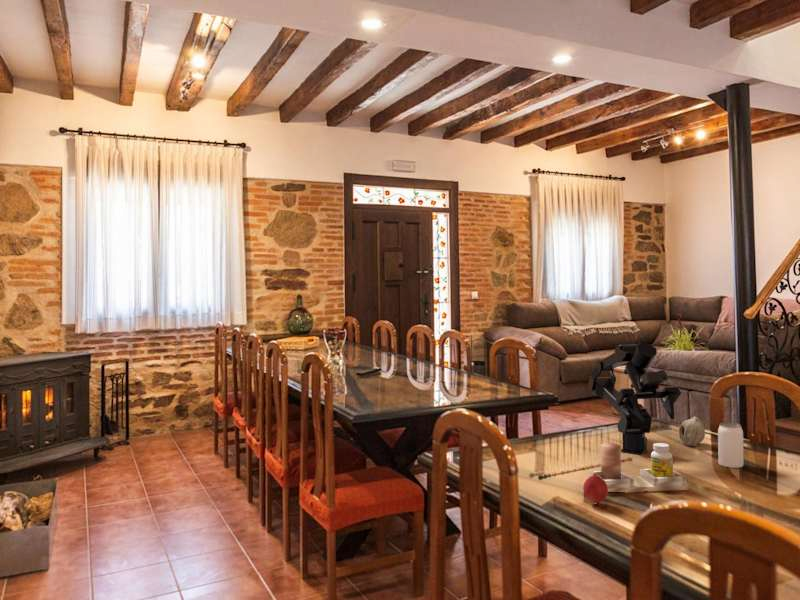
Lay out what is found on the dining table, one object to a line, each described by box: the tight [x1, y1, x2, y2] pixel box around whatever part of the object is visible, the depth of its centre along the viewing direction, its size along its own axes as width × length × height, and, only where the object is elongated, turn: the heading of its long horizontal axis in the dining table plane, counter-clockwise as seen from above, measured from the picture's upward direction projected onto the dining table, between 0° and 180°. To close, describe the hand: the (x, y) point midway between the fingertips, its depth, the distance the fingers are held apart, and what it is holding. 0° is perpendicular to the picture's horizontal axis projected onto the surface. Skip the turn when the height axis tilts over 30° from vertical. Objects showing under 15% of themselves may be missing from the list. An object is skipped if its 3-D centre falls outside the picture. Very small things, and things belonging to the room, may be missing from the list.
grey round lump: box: [678, 416, 706, 447], centre depth 203 cm, size 9×8×10 cm
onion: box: [582, 473, 609, 504], centre depth 151 cm, size 6×6×8 cm
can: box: [717, 422, 744, 469], centre depth 179 cm, size 6×6×12 cm
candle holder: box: [589, 442, 689, 493], centre depth 163 cm, size 24×9×11 cm, turn 93°
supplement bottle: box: [650, 442, 674, 477], centre depth 164 cm, size 5×5×10 cm
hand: (658, 419), depth 181 cm, fingers open, 9 cm apart
